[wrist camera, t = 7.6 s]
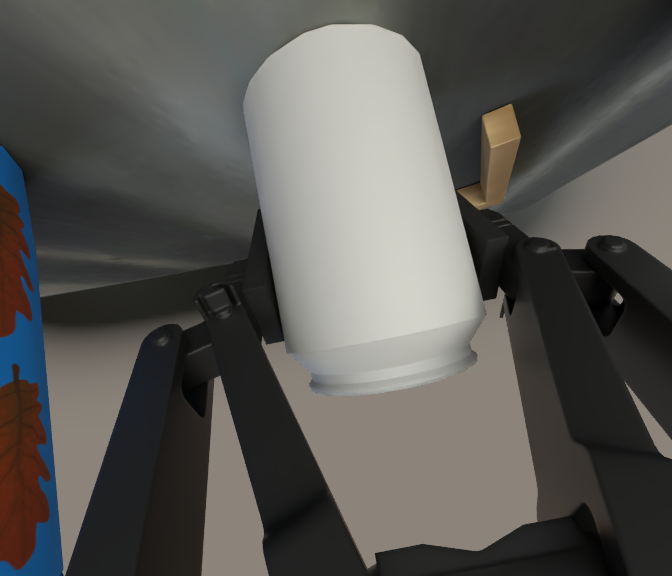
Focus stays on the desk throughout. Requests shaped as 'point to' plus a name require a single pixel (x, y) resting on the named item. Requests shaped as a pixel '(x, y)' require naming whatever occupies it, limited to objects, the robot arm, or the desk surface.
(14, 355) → the thermos
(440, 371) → the can
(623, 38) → the desk surface
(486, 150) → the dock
